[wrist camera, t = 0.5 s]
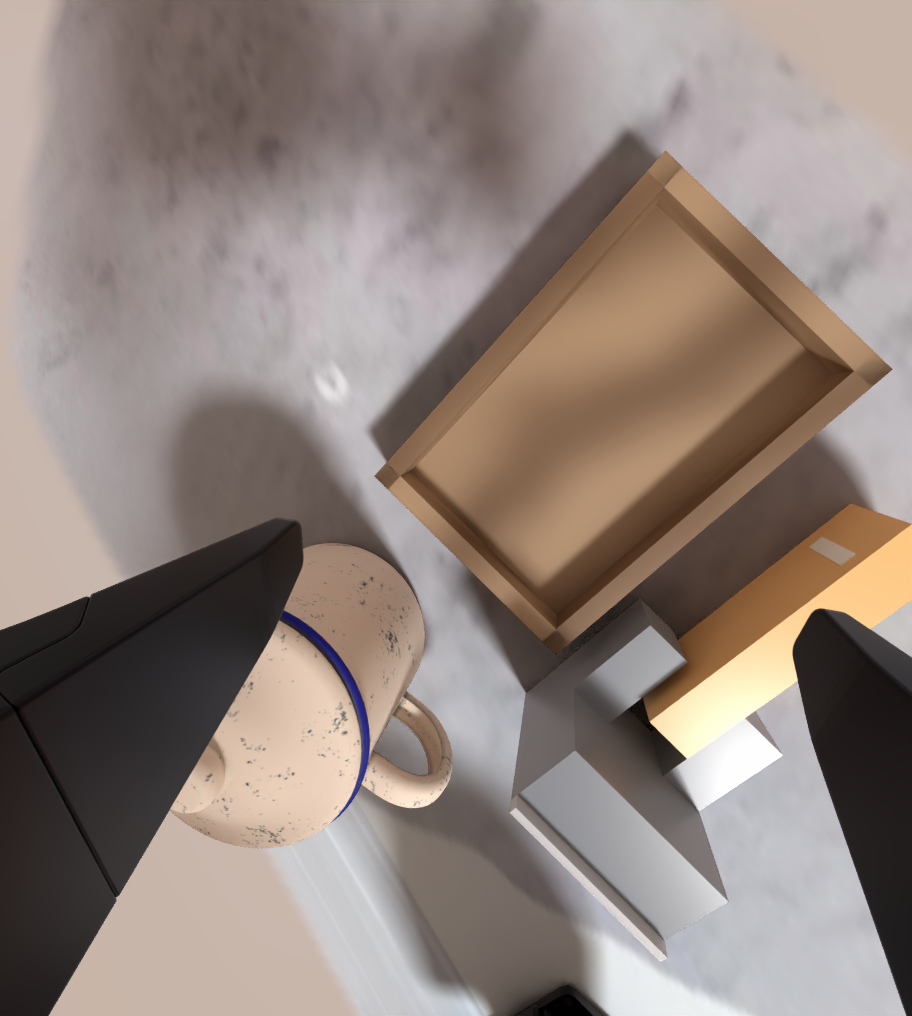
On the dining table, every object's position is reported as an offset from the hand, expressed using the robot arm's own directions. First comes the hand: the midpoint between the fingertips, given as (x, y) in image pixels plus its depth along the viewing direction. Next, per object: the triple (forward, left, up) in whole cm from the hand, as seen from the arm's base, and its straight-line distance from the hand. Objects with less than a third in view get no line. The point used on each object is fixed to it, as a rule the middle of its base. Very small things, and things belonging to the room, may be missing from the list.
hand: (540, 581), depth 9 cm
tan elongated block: (-10, -2, -14) cm, 17 cm away
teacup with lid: (+1, +12, -14) cm, 19 cm away
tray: (0, -3, -14) cm, 14 cm away
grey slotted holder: (-10, +5, -14) cm, 18 cm away
